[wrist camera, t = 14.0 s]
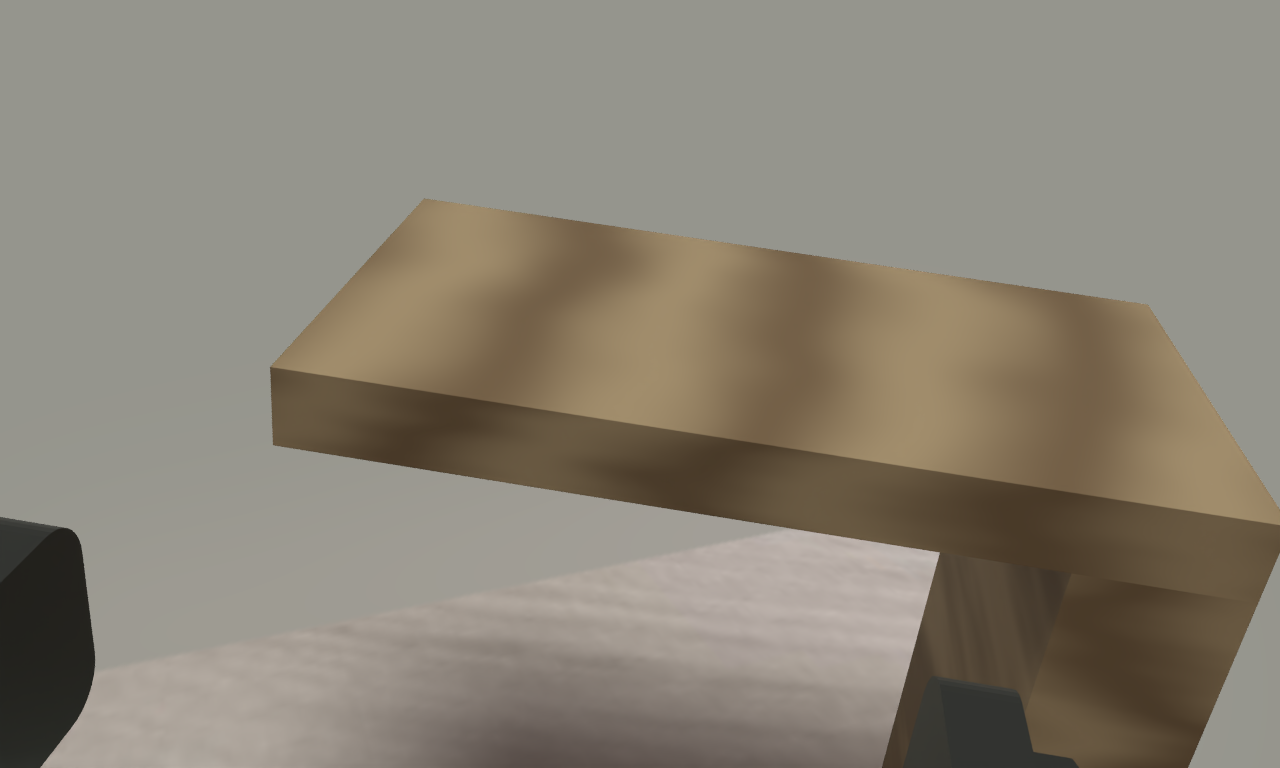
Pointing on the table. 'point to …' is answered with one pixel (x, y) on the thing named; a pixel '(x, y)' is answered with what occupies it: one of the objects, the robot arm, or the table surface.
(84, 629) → the robot arm
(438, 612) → the table surface
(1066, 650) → the shelf
